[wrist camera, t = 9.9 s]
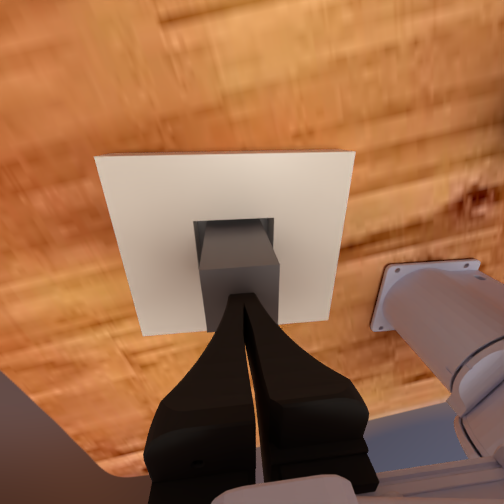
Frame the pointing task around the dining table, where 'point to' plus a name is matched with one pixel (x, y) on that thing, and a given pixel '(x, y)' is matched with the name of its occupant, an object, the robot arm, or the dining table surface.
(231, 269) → the plug
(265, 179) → the socket plate
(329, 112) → the dining table surface
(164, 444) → the robot arm
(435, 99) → the dining table surface
